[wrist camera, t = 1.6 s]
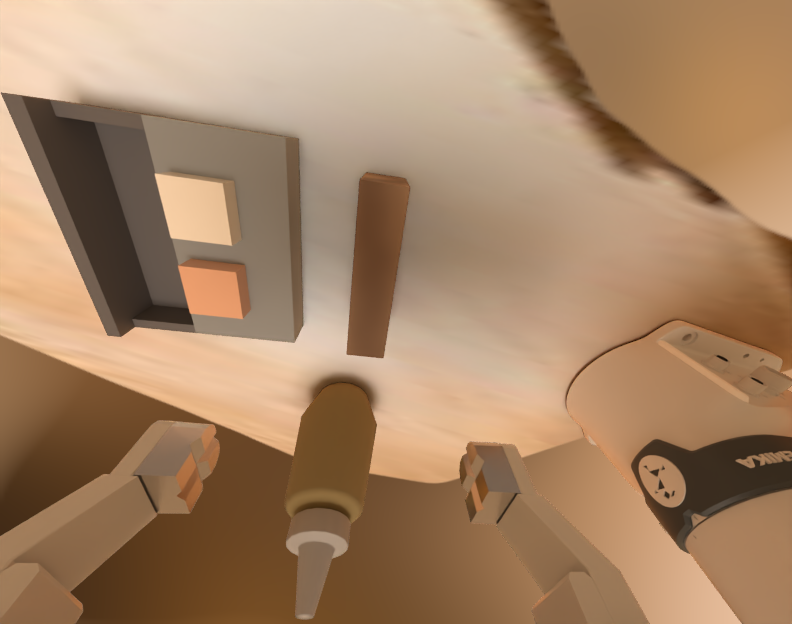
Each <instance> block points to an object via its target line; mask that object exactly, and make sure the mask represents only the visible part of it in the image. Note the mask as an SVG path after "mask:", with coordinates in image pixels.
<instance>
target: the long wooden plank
mask: <svg viewBox="0 0 792 624" xmlns="http://www.w3.org/2000/svg"><path fill="white" fill-rule="evenodd" d="M409 192H410V186H409V184H408V182H407V180H406V179H405V178H399V177H393V176H387V175H381V174H374V173H368V172H366V173H365V175H364V176H363V177H362V178H361V179H360V181H359V194H358V207H357V221H356V234H355V248H354V261H353V274H352V288H351V301H350V315H349V328H348V341H347V355H356V356H366V357H376V358H383V357H384V351H385V345H386V338H387V332H388V326H389V319H390V313H391V306H392V300H393V294H394V287H395V281H396V275H397V268H398V262H399V256H400V249H401V243H402V236H403V230H404V224H405V217H406V211H407V205H408V198H409Z"/></svg>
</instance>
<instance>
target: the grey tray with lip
mask: <svg viewBox="0 0 792 624" xmlns="http://www.w3.org/2000/svg"><path fill="white" fill-rule="evenodd" d="M1 94H2V97H3V99H4V101H5V103H6V106H7V108H8V110H9V113H10V115H11V117H12V119H13V122H14V124H15V126H16V128H17V131H18V133H19V135H20V138H21V140H22V142H23V144H24V147H25V149H26V151H27V153H28V156H29V158H30V160H31V163H32V165H33V167H34V169H35V172H36V174H37V176H38V178H39V181H40V183H41V185H42V187H43V190H44V192H45V194H46V197H47V199H48V201H49V203H50V206H51V208H52V210H53V212H54V215H55V217H56V219H57V222H58V224H59V226H60V228H61V231H62V233H63V235H64V237H65V240H66V242H67V244H68V247H69V249H70V251H71V253H72V256H73V258H74V260H75V262H76V265H77V267H78V269H79V272H80V274H81V276H82V278H83V281H84V283H85V285H86V287H87V290H88V292H89V294H90V297H91V299H92V301H93V303H94V306H95V308H96V310H97V312H98V315H99V317H100V319H101V322H102V324H103V326H104V328H105V331H106V333H107V335H108V336H117V337H121V336H123V335H124V334H126V333H127V332H128V331H130V330H131V329H133V328H134V327H141V328H151V329H161V330H171V331H181V332H192V333H202V334H212V335H222V336H232V337H242V338H252V339H262V340H272V341H282V342H292V343H295V341H296V339H297V337H298V335H299V333H300V331H301V328H302V326H303V295H302V256H301V217H300V178H299V139H297V138H291V137H285V136H278V135H272V134H266V133H260V132H253V131H247V130H241V129H235V128H228V127H222V126H216V125H210V124H203V123H197V122H191V121H185V120H178V119H172V118H166V117H160V116H153V115H147V114H141V113H135V112H128V111H122V110H116V109H110V108H104V107H97V106H91V105H85V104H78V103H71V102H64V101H57V100H50V99H43V98H36V97H29V96H22V95H15V94H8V93H1ZM164 172H176V173H183V174H190V175H197V176H204V177H211V178H217V179H224V180H231V181H234V184H235V192H236V200H237V207H238V215H239V223H240V230H241V238H242V240H240V241H239V242H237V243H236V244H234V245H232V246H230V245H222V244H214V243H206V242H198V241H190V240H182V239H174V238H171V237H170V233H169V229H168V225H167V221H166V217H165V213H164V209H163V205H162V201H161V197H160V193H159V189H158V185H157V181H156V177H155V173H164ZM189 259H198V260H206V261H215V262H223V263H231V264H239V265H245V269H246V276H247V284H248V292H249V299H250V307H251V310H250V311H249V313H248V314H247V315H246V316H245V317H244V318H243V319H237V318H228V317H218V316H209V315H199V314H190V311H189V307H188V304H187V300H186V296H185V292H184V288H183V284H182V280H181V276H180V272H179V268H178V265H180V264H182V263H184V262H185V261H187V260H189Z"/></svg>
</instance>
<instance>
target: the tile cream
mask: <svg viewBox="0 0 792 624" xmlns="http://www.w3.org/2000/svg"><path fill="white" fill-rule="evenodd" d="M155 177H156V181H157V185H158V189H159V193H160V197H161V201H162V205H163V209H164V213H165V217H166V221H167V225H168V229H169V233H170V237H171V238H174V239H182V240H190V241H198V242H206V243H214V244H222V245H230V246H232V245H234V244H236V243H237V242H239V241H240V240H242V238H241V230H240V223H239V215H238V207H237V200H236V192H235V184H234V181H231V180H224V179H217V178H211V177H204V176H197V175H190V174H183V173H176V172H164V173H155Z"/></svg>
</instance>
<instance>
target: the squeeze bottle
mask: <svg viewBox="0 0 792 624" xmlns="http://www.w3.org/2000/svg"><path fill="white" fill-rule="evenodd" d="M376 427H377V424H376V421H375V418H374V415H373V412H372V409H371V406H370V403H369V400H368V397H367V395H366V393H365V392H364V391H363V390H362V389H361V388H360V387H357V386H355V385H353V384H349V383H342V382H341V383H335V384H330V385H329V386H327V387H325V388H323V390H322V391H321V392H320V393H319V395H318V396H317V397H316V398H315V400H314V401H313V402H312V403H311V405H310V406H309V407H308V408H307V410H306V411H305V413H304V414H303V415H302V417H301V422H300V427H299V432H298V437H297V442H296V447H295V452H294V457H293V463H292V467H291V473H290V477H289V482H288V487H287V493H286V498H285V510H286V511H287V513H288V514H289V515H290V517H291V518H292V521H291V524H290V528H289V532H288V536H287V540H286V546H287V548H288V549H289V550H290V551H291V552H292V553H294V554H296V555H298V575H297V593H296V613H295V617H296V618H299V619H311V618H313V617H314V614H315V611H316V608H317V605H318V601H319V598H320V595H321V592H322V589H323V586H324V582H325V579H326V576H327V573H328V570H329V566H330V563H331V560H332V558H334V557H337V556H340V555H342V554H343V553H344V552H345V551H347V549H348V544H349V534H350V525H351V523H352V522H353V521H355V520H356V519H357V518H358V517H359V516H360V515H361V514H362V511H363V507H364V501H365V494H366V488H367V482H368V476H369V470H370V464H371V458H372V451H373V445H374V439H375V433H376Z"/></svg>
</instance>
